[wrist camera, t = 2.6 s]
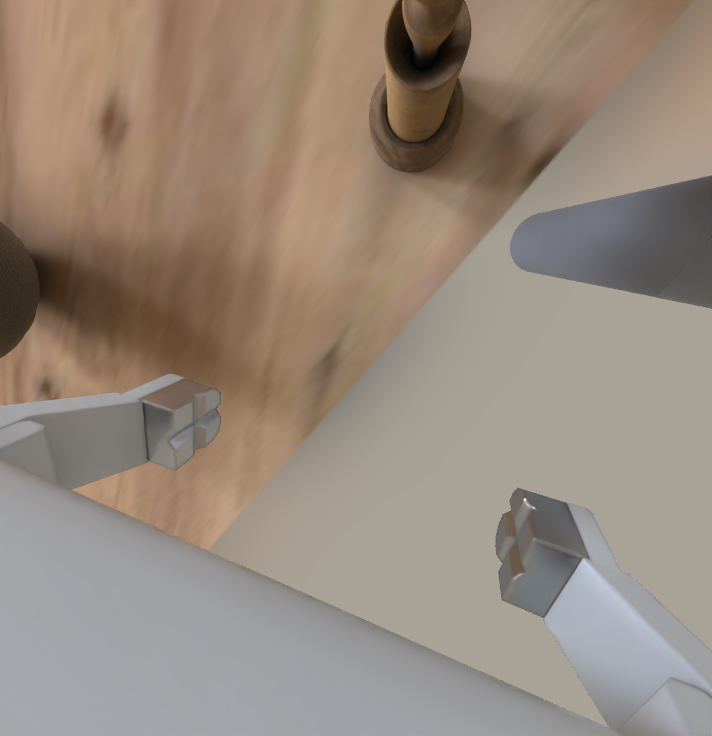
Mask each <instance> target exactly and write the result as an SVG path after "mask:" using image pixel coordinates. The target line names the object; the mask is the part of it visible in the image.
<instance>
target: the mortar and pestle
mask: <svg viewBox="0 0 712 736" xmlns="http://www.w3.org/2000/svg"><path fill="white" fill-rule="evenodd" d="M470 39H471V20H470V15H469V11H468V8H467V5H466V3H465V1H464V0H396V2H395V3H394V5H393V7H392V9H391V11H390V13H389V16H388V19H387V22H386V26H385V32H384V57H385V72H386V73H385V74H384V75H383V76H382V78H381V79H380V81H379V82H378V84H377V86H376V88H375V90H374V93H373V96H372V99H371V103H370V110H369V124H370V131H371V137H372V141H373V144H374V147H375V149H376V151H377V153H378V154H379V156H380V157H381V158H382V159H383V161H384V162H386V163H387V164H388V165H389V166H391V167H393V168H395V169H397V170H400V171H405V172H416V171H420V170H424V169H426V168H428V167H430V166H432V165H433V164H435V163H436V162H437V161H438V160H440V159H441V158H442V157H443V156H444V154H445V153H446V152H447V150H448V149H449V148H450V146H451V144H452V142H453V140H454V138H455V136H456V134H457V132H458V129H459V127H460V124H461V120H462V116H463V107H464V99H463V91H462V87H461V84H460V81H459V79H458V76H459V73H460V71H461V68H462V66H463V63H464V60H465V58H466V55H467V52H468V49H469V44H470Z"/></svg>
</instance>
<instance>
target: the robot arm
mask: <svg viewBox="0 0 712 736" xmlns="http://www.w3.org/2000/svg"><path fill="white" fill-rule="evenodd" d="M220 404H221V393H220V392H219V391H218V389H216V388H213V387H210V386H207V385H204V384H202V383H199V382H196V381H193V380H190V379H187V378H185V377H181V376H178V375H175V374H167V375H165V376H162V377H160V378H158V379H155V380H153V381H151V382H149V383H146V384H144V385H142V386H139V387H137V388H135V389H132V390H130V391H128V392H125V393H123V394H120V393H109V394H100V395H91V396H82V397H74V398H65V399H56V400H47V401H39V402H30V403H21V404H12V405H4V406H0V736H712V650H711V649H710V648H708V647H707V646H706V645H705V644H704V643H703V642H702V641H701V640H700V639H699V638H697V636H695V635H694V634H693V633H692V632H691V631H690V630H689V629H688V628H687V627H686V626H685V625H684V624H683V623H682V622H680V621H679V620H678V619H677V618H676V617H675V616H674V615H673V614H672V613H671V612H670V611H669V610H668V609H667V608H666V607H664V606H663V605H662V604H661V603H660V602H659V601H658V600H657V599H656V598H655V597H654V596H653V595H652V594H651V593H649V592H648V591H647V590H646V589H645V588H644V587H643V586H642V585H641V584H640V583H639V582H638V581H636V580H635V579H634V578H633V577H632V576H631V575H630V574H628V573H625V572H622V571H621V570H620V568H619V566H618V564H617V562H616V559H615V558H614V556H613V554H612V551H611V550H610V547H609V545H608V543H607V541H606V539H605V537H604V535H603V533H602V531H601V530H600V527H599V526H598V523H597V521H596V519H595V517H594V515H593V513H592V512H591V511H590V510H588V509H587V508H584V507H580V506H577V505H574V504H570V503H567V502H562V501H559V500H556V499H552V498H549V497H546V496H543V495H539V494H536V493H533V492H530V491H526V490H523V489H520V488H517V489H516V490H515V491H514V492H513V494H512V496H511V498H510V506H511V511H509V512H507V513H505V514H503V515H502V518H501V520H500V522H499V525H498V529H497V534H496V554H497V556H498V558H499V559H500V560H501V562H502V563H503V564H502V566H501V568H500V570H499V572H498V573H499V581H500V589H501V598H502V600H503V601H505V602H508V603H510V604H512V605H515V606H517V607H520V608H522V609H524V610H526V611H529V612H532V613H533V614H536V615H538V616H541V617H543V618H544V619H543V620H544V622H545V623H546V625H547V627H548V628H549V630H550V632H551V633H552V635H553V636H554V638H555V640H556V642H557V643H558V645H559V646H560V648H561V650H562V651H563V653H564V655H565V656H566V658H567V659H568V661H569V663H570V664H571V666H572V667H573V669H574V671H575V673H576V674H577V676H578V677H579V679H580V681H581V682H582V684H583V686H584V687H585V689H586V690H587V692H588V694H589V696H590V697H591V699H592V700H593V702H594V704H595V705H596V707H597V708H598V710H599V712H600V714H601V715H602V717H603V718H604V720H605V722H606V723H607V725H608V727H609V728H608V727H605V726H603V725H601V724H598V723H596V722H594V721H592V720H590V719H587V718H585V717H583V716H581V715H578V714H576V713H574V712H572V711H569V710H567V709H565V708H562V707H560V706H558V705H556V704H553V703H551V702H549V701H547V700H544V699H542V698H540V697H538V696H535V695H533V694H531V693H528V692H526V691H524V690H522V689H519V688H517V687H515V686H513V685H510V684H508V683H506V682H504V681H502V680H499V679H497V678H495V677H493V676H490V675H488V674H486V673H483V672H481V671H479V670H477V669H474V668H472V667H470V666H468V665H465V664H463V663H461V662H459V661H456V660H454V659H452V658H450V657H447V656H445V655H443V654H441V653H438V652H436V651H434V650H432V649H429V648H427V647H425V646H422V645H420V644H418V643H416V642H413V641H411V640H409V639H407V638H404V637H402V636H400V635H398V634H395V633H393V632H391V631H389V630H386V629H384V628H382V627H379V626H377V625H375V624H373V623H370V622H368V621H366V620H364V619H361V618H359V617H357V616H355V615H352V614H350V613H348V612H346V611H343V610H341V609H339V608H337V607H334V606H332V605H330V604H328V603H325V602H323V601H321V600H318V599H316V598H314V597H312V596H310V595H307V594H305V593H303V592H301V591H298V590H296V589H293V588H291V587H289V586H287V585H285V584H282V583H280V582H278V581H275V580H273V579H271V578H269V577H267V576H264V575H262V574H260V573H258V572H255V571H253V570H251V569H249V568H246V567H244V566H242V565H239V564H237V563H235V562H233V561H230V560H228V559H226V558H224V557H221V556H219V555H217V554H215V553H212V552H210V551H208V550H206V549H203V548H201V547H199V546H197V545H194V544H192V543H190V542H188V541H185V540H183V539H181V538H179V537H176V536H174V535H172V534H169V533H167V532H165V531H163V530H160V529H158V528H156V527H154V526H151V525H149V524H147V523H145V522H142V521H140V520H138V519H136V518H133V517H131V516H129V515H127V514H124V513H122V512H120V511H118V510H115V509H113V508H111V507H109V506H106V505H104V504H102V503H99V502H97V501H95V500H93V499H90V498H88V497H86V496H84V495H81V494H79V493H77V492H75V491H72V490H71V489H74V488H77V487H80V486H82V485H85V484H88V483H91V482H94V481H97V480H99V479H102V478H105V477H108V476H111V475H114V474H116V473H119V472H122V471H125V470H128V469H131V468H133V467H136V466H139V465H142V464H145V463H147V462H148V461H149V462H152V463H155V464H158V465H161V466H163V467H166V468H169V469H172V470H174V471H176V470H177V469H178V468H179V467H181V466H182V465H183V464H185V463H186V462H187V461H188V460H190V459H191V458H192V457H194V453H195V450H196V449H200V448H204V447H206V446H207V445H209V444H210V443H211V442H212V441H213V440H214V438H215V437H216V435H217V434H218V432H219V428H220V425H221V416H220V414H219V413H218V411H217V409H216V408H217V407H218V406H219V405H220Z"/></svg>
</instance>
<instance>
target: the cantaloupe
mask: <svg viewBox="0 0 712 736" xmlns="http://www.w3.org/2000/svg"><path fill="white" fill-rule="evenodd" d="M39 296H40V285H39V278H38V274H37V270H36V267H35V264H34V262H33V260H32V258H31V256H30V254H29V253H28V251H27V250H26V249H25V247H24V246H23V244H22V243H21V242H20V240H19V239H18V238H17V237H16V236H15V235H14V234H13V232H11V231H10V230H9V229H8V228H7V227H6V226H5V225H4V224H3V223H1V222H0V358H1V357H3V356H5V355H6V354H7V353H9V352H10V351H11V350H12V349H13V348H15V347H16V346H17V344H18V343H19V342H20V341H21V340H22V338H23V336H24V335H25V333H26V332H27V331H28V330H29V328H30V327H31V325H32V323H33V321H34V318H35V314H36V309H37V306H38V303H39Z"/></svg>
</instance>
